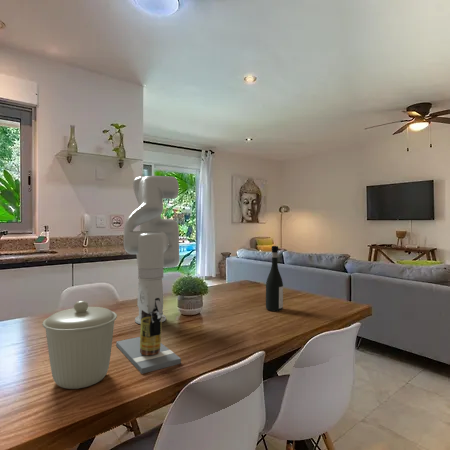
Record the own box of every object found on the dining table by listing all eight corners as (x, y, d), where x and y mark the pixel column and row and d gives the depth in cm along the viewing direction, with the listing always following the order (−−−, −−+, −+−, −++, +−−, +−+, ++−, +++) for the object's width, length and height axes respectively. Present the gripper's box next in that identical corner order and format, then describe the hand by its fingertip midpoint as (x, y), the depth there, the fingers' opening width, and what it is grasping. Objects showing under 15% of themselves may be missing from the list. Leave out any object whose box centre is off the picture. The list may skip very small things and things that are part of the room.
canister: (81, 404, 77) (81, 313, 77) (26, 389, 84) (25, 305, 83) (130, 371, 94) (130, 296, 94) (81, 360, 101) (81, 291, 100)
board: (116, 345, 112) (116, 341, 112) (150, 338, 119) (150, 334, 119) (141, 373, 92) (141, 368, 92) (180, 363, 99) (180, 358, 99)
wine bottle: (282, 307, 161) (282, 245, 161) (283, 312, 153) (284, 247, 153) (265, 307, 162) (266, 245, 161) (265, 311, 154) (266, 246, 153)
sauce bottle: (140, 357, 99) (139, 291, 98) (139, 349, 105) (139, 286, 104) (162, 355, 101) (162, 289, 100) (160, 347, 107) (160, 285, 106)
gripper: (129, 270, 107) (129, 326, 108) (149, 279, 93) (149, 343, 93) (151, 268, 111) (151, 322, 112) (174, 276, 97) (174, 337, 97)
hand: (150, 331), depth 103 cm, fingers closed on sauce bottle, 6 cm apart
